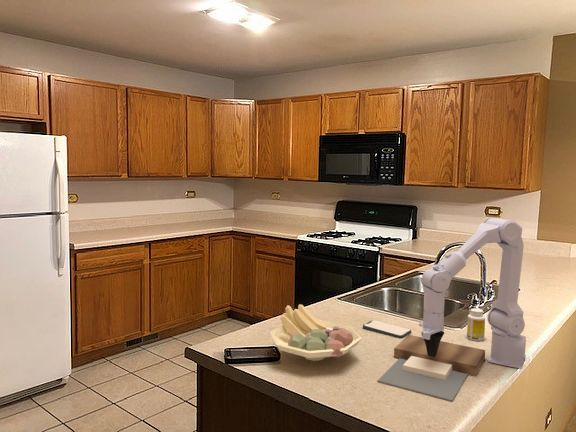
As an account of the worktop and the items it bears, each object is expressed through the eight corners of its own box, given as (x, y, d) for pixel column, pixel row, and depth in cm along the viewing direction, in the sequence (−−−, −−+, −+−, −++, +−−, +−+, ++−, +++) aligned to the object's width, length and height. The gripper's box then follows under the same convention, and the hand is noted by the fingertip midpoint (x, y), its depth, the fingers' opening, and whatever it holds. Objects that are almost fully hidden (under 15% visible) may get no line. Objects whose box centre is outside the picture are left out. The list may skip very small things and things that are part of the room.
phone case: (412, 334, 167) (373, 323, 177) (412, 329, 167) (373, 319, 177) (401, 340, 160) (361, 329, 171) (401, 336, 160) (361, 325, 170)
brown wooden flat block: (484, 359, 143) (485, 350, 143) (475, 376, 132) (476, 366, 131) (408, 343, 156) (408, 334, 156) (393, 357, 145) (394, 348, 144)
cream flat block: (452, 369, 135) (452, 364, 135) (445, 380, 128) (445, 375, 128) (411, 360, 141) (411, 355, 141) (402, 370, 135) (402, 365, 135)
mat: (467, 375, 132) (467, 373, 132) (452, 401, 117) (452, 400, 117) (399, 359, 143) (399, 358, 143) (377, 381, 128) (377, 380, 128)
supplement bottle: (487, 339, 160) (489, 310, 159) (476, 342, 157) (478, 313, 156) (474, 334, 165) (475, 306, 164) (463, 337, 162) (464, 308, 161)
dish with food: (290, 332, 164) (290, 293, 161) (369, 345, 153) (370, 304, 151) (254, 368, 138) (253, 323, 136) (346, 387, 128) (347, 338, 125)
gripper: (427, 302, 143) (425, 344, 145) (412, 314, 131) (410, 361, 133) (450, 306, 140) (448, 349, 141) (437, 319, 127) (435, 366, 129)
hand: (432, 355), depth 137 cm, fingers closed
